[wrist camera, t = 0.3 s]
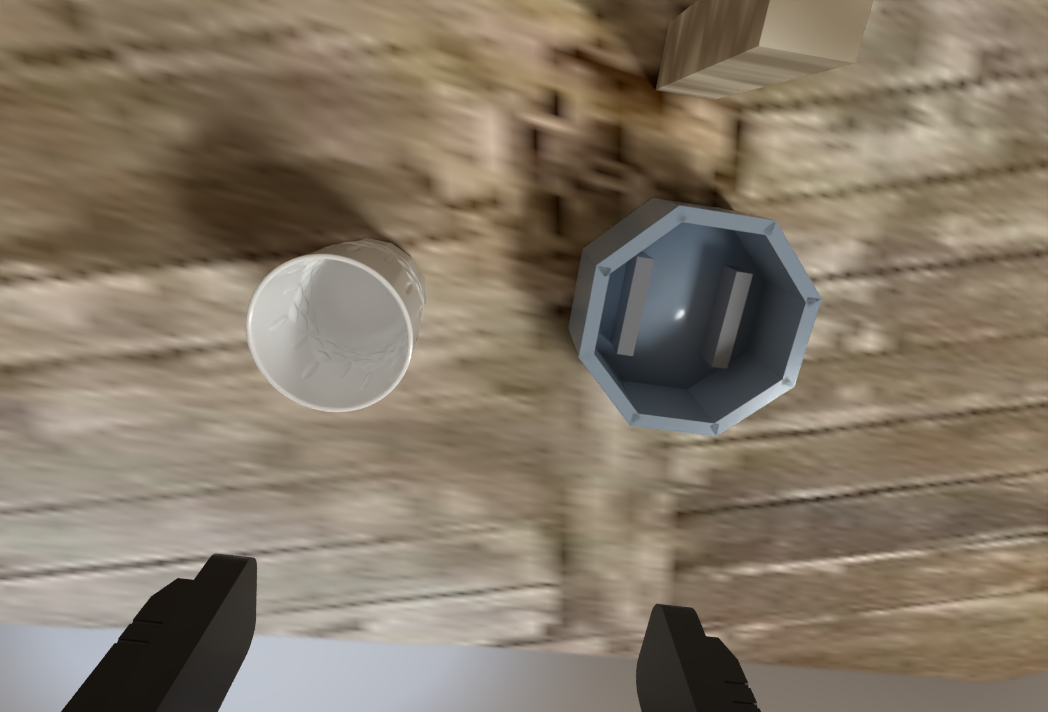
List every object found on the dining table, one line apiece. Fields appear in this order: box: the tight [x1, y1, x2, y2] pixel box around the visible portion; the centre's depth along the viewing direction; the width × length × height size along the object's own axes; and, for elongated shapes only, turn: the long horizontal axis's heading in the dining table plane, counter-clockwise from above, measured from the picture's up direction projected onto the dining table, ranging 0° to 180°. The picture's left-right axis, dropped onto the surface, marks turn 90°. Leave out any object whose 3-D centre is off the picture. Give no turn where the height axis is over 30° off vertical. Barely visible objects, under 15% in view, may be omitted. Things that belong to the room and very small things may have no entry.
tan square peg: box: [656, 0, 873, 100], centre depth 27 cm, size 4×4×15 cm
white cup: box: [246, 238, 426, 412], centre depth 34 cm, size 8×8×10 cm
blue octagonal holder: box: [568, 198, 822, 436], centre depth 36 cm, size 13×13×6 cm
